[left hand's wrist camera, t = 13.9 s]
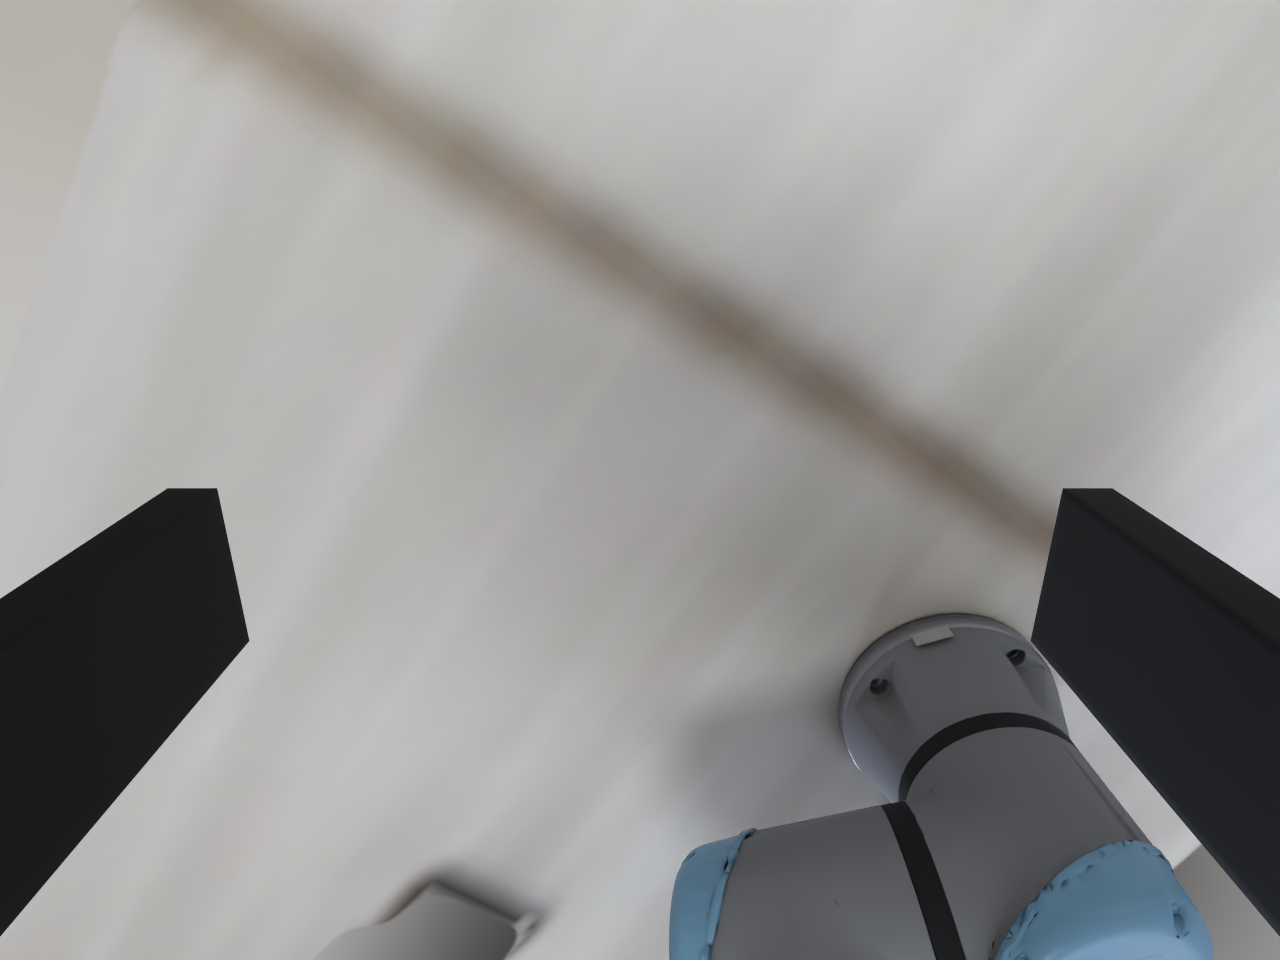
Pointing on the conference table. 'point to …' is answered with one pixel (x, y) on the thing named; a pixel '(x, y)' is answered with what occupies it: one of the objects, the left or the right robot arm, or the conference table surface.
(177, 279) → the conference table surface
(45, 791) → the left robot arm
